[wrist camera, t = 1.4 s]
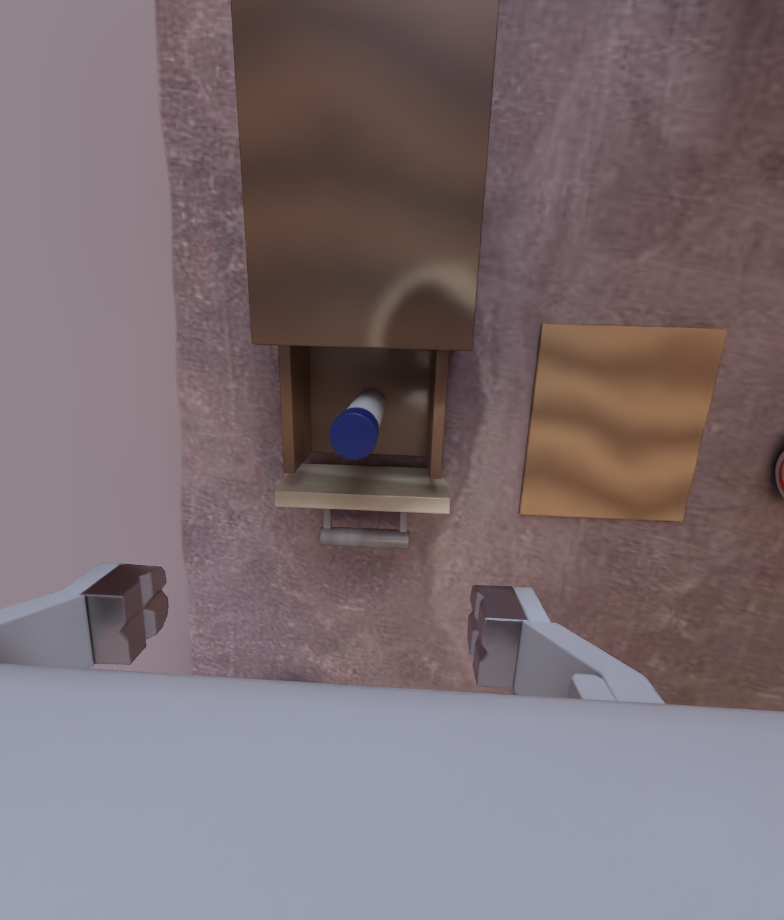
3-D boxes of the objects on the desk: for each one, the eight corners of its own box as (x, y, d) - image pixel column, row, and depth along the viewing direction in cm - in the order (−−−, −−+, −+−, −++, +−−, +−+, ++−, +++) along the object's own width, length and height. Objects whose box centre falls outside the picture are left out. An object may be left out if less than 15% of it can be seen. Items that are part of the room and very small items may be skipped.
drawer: (439, 528, 38) (445, 569, 32) (299, 522, 39) (277, 561, 32) (456, 272, 32) (467, 258, 26) (290, 268, 33) (261, 253, 26)
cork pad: (541, 323, 34) (542, 323, 34) (724, 328, 34) (728, 328, 33) (518, 512, 39) (519, 514, 38) (679, 519, 38) (682, 521, 38)
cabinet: (457, 346, 35) (472, 350, 26) (289, 341, 35) (251, 344, 27) (476, 80, 30) (500, -16, 21) (278, 78, 30) (229, -17, 22)
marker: (376, 382, 34) (361, 404, 24) (393, 412, 34) (385, 446, 24) (346, 398, 34) (319, 427, 24) (363, 428, 35) (344, 468, 25)
